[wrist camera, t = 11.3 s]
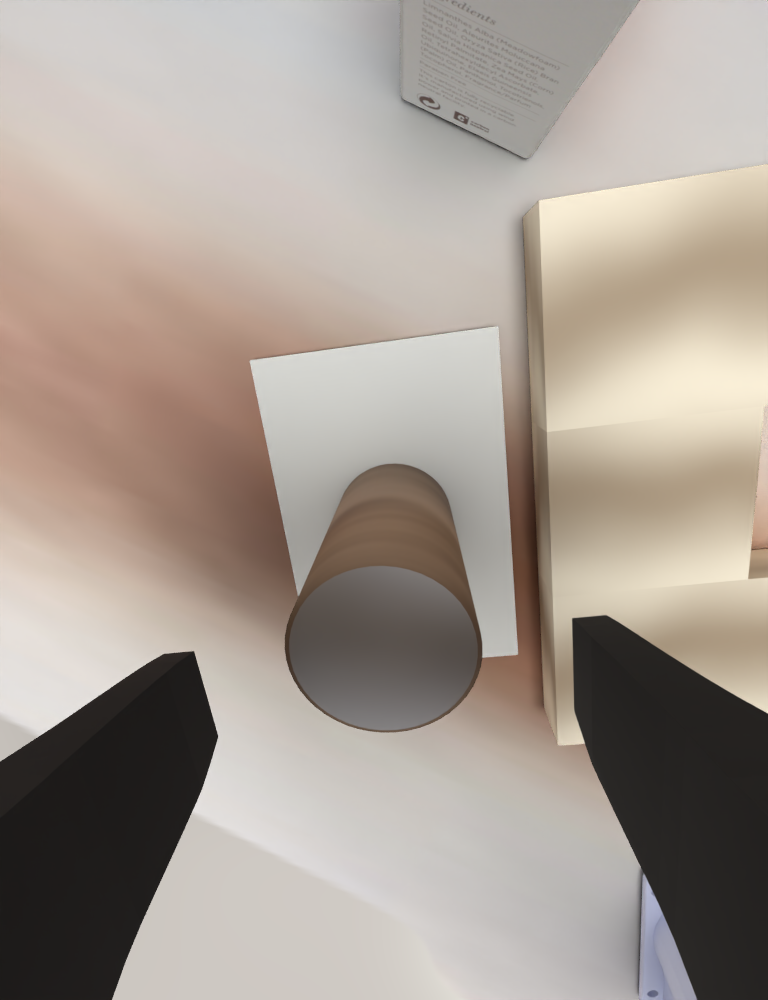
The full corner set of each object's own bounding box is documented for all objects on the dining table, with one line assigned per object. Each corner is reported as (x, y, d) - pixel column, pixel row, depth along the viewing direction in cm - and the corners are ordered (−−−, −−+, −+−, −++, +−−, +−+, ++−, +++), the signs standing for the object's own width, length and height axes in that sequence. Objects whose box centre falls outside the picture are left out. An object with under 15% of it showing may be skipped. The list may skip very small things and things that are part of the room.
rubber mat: (515, 647, 20) (518, 654, 19) (315, 663, 20) (313, 671, 20) (495, 326, 16) (498, 326, 16) (254, 359, 17) (249, 360, 16)
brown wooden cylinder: (456, 564, 18) (489, 727, 11) (347, 575, 19) (303, 740, 11) (446, 457, 17) (475, 552, 9) (330, 470, 17) (266, 572, 10)
